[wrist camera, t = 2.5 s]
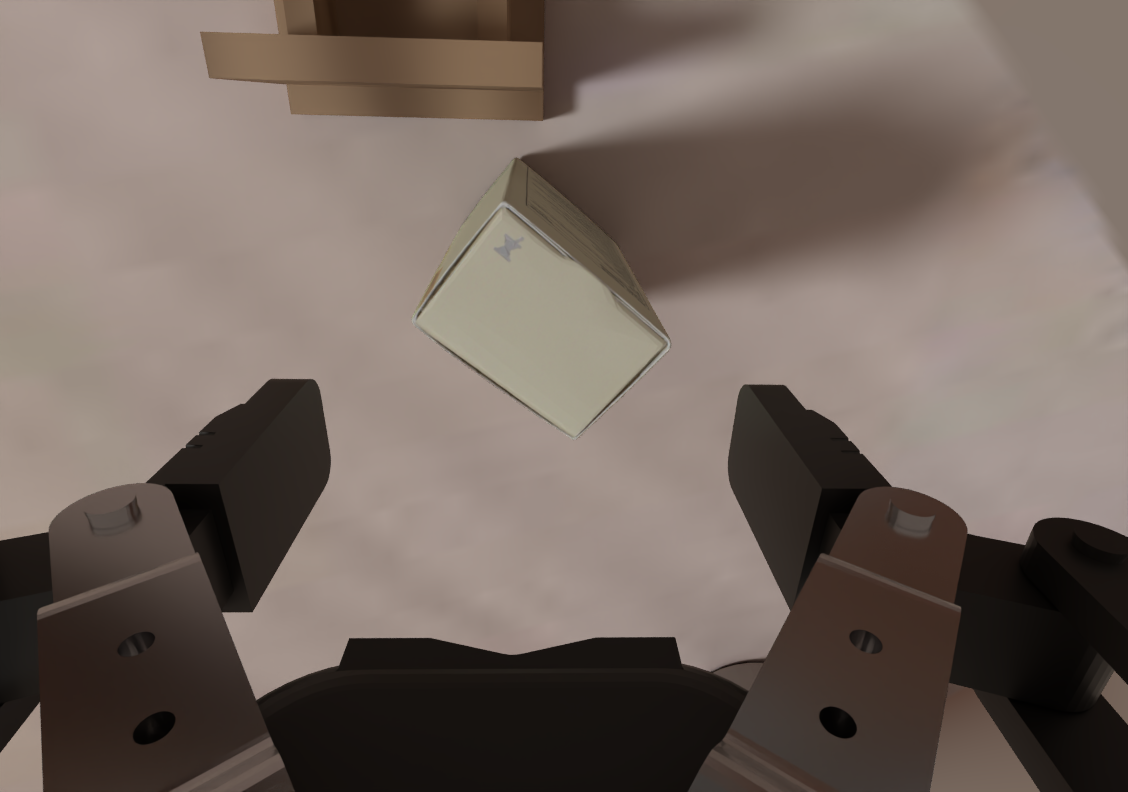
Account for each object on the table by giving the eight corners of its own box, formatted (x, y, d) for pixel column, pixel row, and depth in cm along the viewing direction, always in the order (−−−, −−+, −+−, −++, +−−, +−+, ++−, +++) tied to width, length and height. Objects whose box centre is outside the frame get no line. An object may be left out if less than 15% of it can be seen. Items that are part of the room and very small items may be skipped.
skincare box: (455, 231, 27) (393, 317, 16) (516, 152, 26) (493, 186, 15) (564, 320, 29) (574, 450, 18) (626, 250, 28) (678, 346, 17)
